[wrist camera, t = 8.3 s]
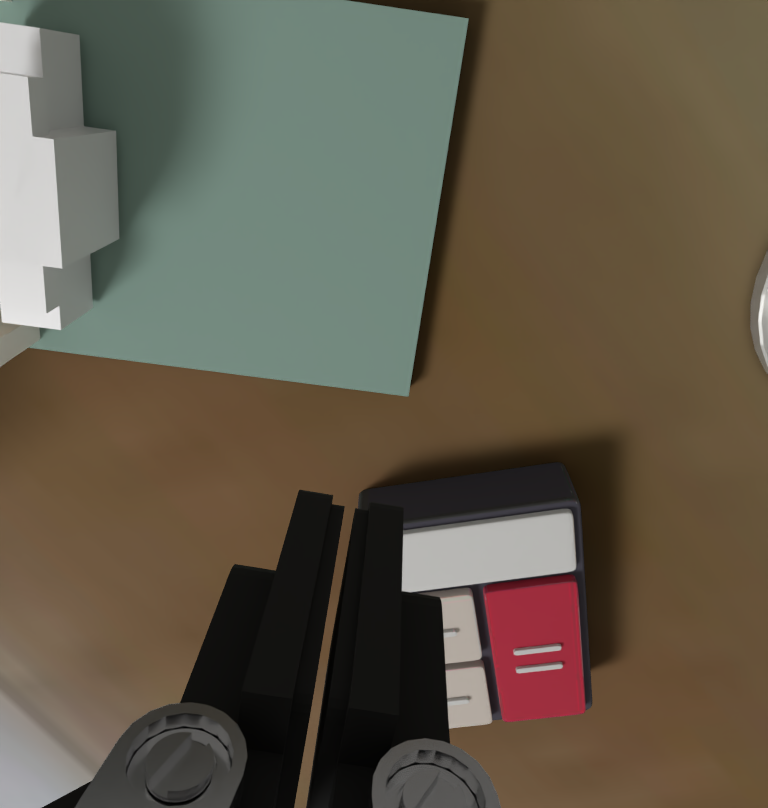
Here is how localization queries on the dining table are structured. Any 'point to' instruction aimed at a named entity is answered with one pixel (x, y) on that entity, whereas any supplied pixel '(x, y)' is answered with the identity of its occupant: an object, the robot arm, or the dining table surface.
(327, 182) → the pitch
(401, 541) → the robot arm
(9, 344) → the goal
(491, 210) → the dining table surface
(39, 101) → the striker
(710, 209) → the dining table surface
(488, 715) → the calculator
